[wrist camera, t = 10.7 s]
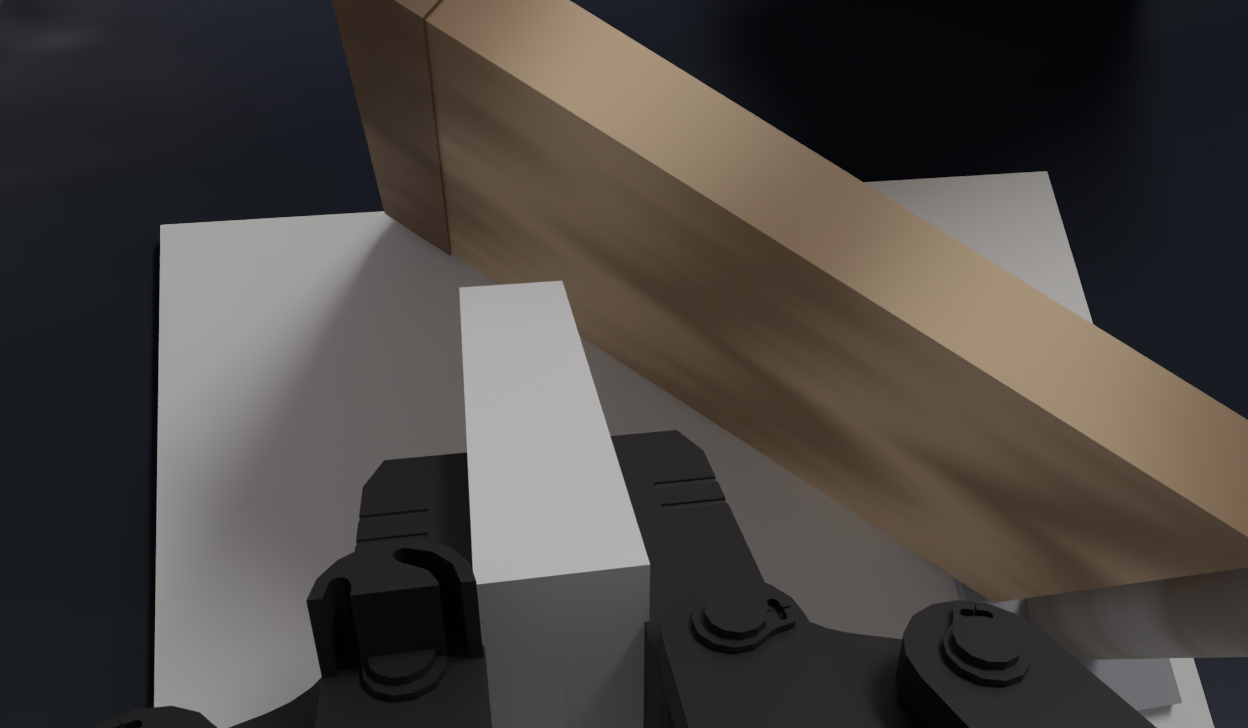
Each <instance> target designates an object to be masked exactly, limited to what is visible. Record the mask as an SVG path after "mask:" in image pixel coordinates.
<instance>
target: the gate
mask: <svg viewBox="0 0 1248 728" xmlns="http://www.w3.org/2000/svg"><path fill="white" fill-rule="evenodd" d="M332 2H333V6H334V10H335V14H336V18H337V22H338V26H339V30H340V34H341V39H342V43H343V47H344V51H345V55H346V59H347V63H348V67H349V71H350V75H351V79H352V83H353V87H354V91H355V95H356V99H357V103H358V107H359V111H360V115H361V119H362V123H363V127H364V131H365V135H366V139H367V143H368V147H369V151H370V155H371V160H372V164H373V168H374V172H375V176H376V180H377V184H378V188H379V192H380V196H381V200H382V204H383V208H384V212H385V214H386V215H388V216H389V217H391V218H392V219H394V220H395V221H397V222H399V223H400V224H402V225H403V226H405V227H406V228H408V229H409V230H411V231H412V232H414V233H416V234H417V235H419V236H420V237H422V238H423V239H425V240H426V241H428V242H429V243H431V244H433V245H434V246H436V247H437V248H439V249H440V250H442V251H443V252H445V253H446V254H448V255H451V254H452V253H453V254H455V255H456V256H458V257H459V258H461V259H462V260H464V261H465V262H467V263H468V264H470V265H472V266H473V267H475V268H476V269H478V270H479V271H481V272H482V273H484V274H485V275H487V276H489V277H490V278H492V279H493V280H495V281H496V282H498V283H499V284H501V285H505V284H520V283H535V282H550V281H562V282H563V285H564V288H565V291H566V294H567V298H568V301H569V304H570V307H571V311H572V314H573V317H574V320H575V324H576V327H577V330H578V333H579V335H580V336H581V337H583V338H584V339H586V340H588V341H589V342H591V343H592V344H594V345H595V346H597V347H598V348H600V349H601V350H603V351H605V352H606V353H608V354H609V355H611V356H612V357H614V358H615V359H617V360H618V361H620V362H622V363H623V364H625V365H626V366H628V367H629V368H631V369H632V370H634V371H635V372H637V373H639V374H640V375H642V376H643V377H645V378H646V379H648V380H649V381H651V382H652V383H654V384H656V385H657V386H659V387H660V388H662V389H663V390H665V391H666V392H668V393H669V394H671V395H673V396H674V397H676V398H677V399H679V400H680V401H682V402H683V403H685V404H686V405H688V406H690V407H691V408H693V409H694V410H696V411H697V412H699V413H700V414H702V415H704V416H705V417H707V418H708V419H710V420H711V421H713V422H714V423H716V424H717V425H719V426H721V427H722V428H724V429H725V430H727V431H728V432H730V433H731V434H733V435H734V436H736V437H738V438H739V439H741V440H742V441H744V442H745V443H747V444H748V445H750V446H751V447H753V448H755V449H756V450H758V451H759V452H761V453H762V454H764V455H765V456H767V457H768V458H770V459H772V460H773V461H775V462H776V463H778V464H779V465H781V466H782V467H784V468H785V469H787V470H789V471H790V472H792V473H793V474H795V475H796V476H798V477H799V478H801V479H802V480H804V481H806V482H807V483H809V484H810V485H812V486H813V487H815V488H816V489H818V490H820V491H821V492H823V493H824V494H826V495H827V496H829V497H830V498H832V499H833V500H835V501H837V502H838V503H840V504H841V505H843V506H844V507H846V508H847V509H849V510H850V511H852V512H854V513H855V514H857V515H858V516H860V517H861V518H863V519H864V520H866V521H867V522H869V523H871V524H872V525H874V526H875V527H877V528H878V529H880V530H881V531H883V532H884V533H886V534H888V535H889V536H891V537H892V538H894V539H895V540H897V541H898V542H900V543H901V544H903V545H905V546H906V547H908V548H909V549H911V550H912V551H914V552H915V553H917V554H918V555H920V556H922V557H923V558H925V559H926V560H928V561H929V562H931V563H932V564H934V565H935V566H937V567H939V568H940V569H942V570H943V571H945V572H946V573H948V574H949V575H951V576H953V577H954V578H956V579H957V580H959V581H960V582H962V583H963V584H965V585H966V586H968V587H970V588H971V589H973V590H974V591H976V592H977V593H979V594H980V595H982V596H983V597H985V598H987V599H988V600H990V601H991V602H993V603H996V602H1003V601H1010V600H1017V599H1024V598H1028V613H1029V618H1030V622H1031V624H1033V625H1035V626H1036V627H1038V628H1039V629H1041V630H1042V631H1044V632H1045V633H1046V634H1047V635H1048V636H1050V637H1051V638H1052V639H1053V640H1054V641H1055V642H1057V643H1058V644H1059V645H1060V646H1061V647H1062V648H1064V649H1065V650H1066V651H1067V652H1068V653H1070V654H1071V655H1072V656H1073V657H1074V658H1075V659H1077V660H1109V659H1161V658H1213V657H1248V420H1247V419H1245V418H1243V417H1242V416H1240V415H1239V414H1237V413H1235V412H1234V411H1232V410H1230V409H1229V408H1227V407H1226V406H1224V405H1222V404H1221V403H1219V402H1218V401H1216V400H1214V399H1213V398H1211V397H1209V396H1208V395H1206V394H1205V393H1203V392H1201V391H1200V390H1198V389H1197V388H1195V387H1193V386H1192V385H1190V384H1188V383H1187V382H1185V381H1184V380H1182V379H1180V378H1179V377H1177V376H1176V375H1174V374H1172V373H1171V372H1169V371H1167V370H1166V369H1164V368H1163V367H1161V366H1159V365H1158V364H1156V363H1155V362H1153V361H1151V360H1150V359H1148V358H1146V357H1145V356H1143V355H1142V354H1140V353H1138V352H1137V351H1135V350H1134V349H1132V348H1130V347H1129V346H1127V345H1125V344H1124V343H1122V342H1121V341H1119V340H1117V339H1116V338H1114V337H1113V336H1111V335H1109V334H1108V333H1106V332H1104V331H1103V330H1101V329H1100V328H1098V327H1096V326H1095V325H1093V324H1092V323H1090V322H1088V321H1087V320H1085V319H1083V318H1082V317H1080V316H1079V315H1077V314H1075V313H1074V312H1072V311H1071V310H1069V309H1067V308H1066V307H1064V306H1062V305H1061V304H1059V303H1058V302H1056V301H1054V300H1053V299H1051V298H1049V297H1048V296H1046V295H1045V294H1043V293H1041V292H1040V291H1038V290H1037V289H1035V288H1033V287H1032V286H1030V285H1028V284H1027V283H1025V282H1024V281H1022V280H1020V279H1019V278H1017V277H1016V276H1014V275H1012V274H1011V273H1009V272H1007V271H1006V270H1004V269H1003V268H1001V267H999V266H998V265H996V264H995V263H993V262H991V261H990V260H988V259H986V258H985V257H983V256H982V255H980V254H978V253H977V252H975V251H974V250H972V249H970V248H969V247H967V246H965V245H964V244H962V243H961V242H959V241H957V240H956V239H954V238H953V237H951V236H949V235H948V234H946V233H944V232H943V231H941V230H940V229H938V228H936V227H935V226H933V225H932V224H930V223H928V222H927V221H925V220H923V219H922V218H920V217H919V216H917V215H915V214H914V213H912V212H911V211H909V210H907V209H906V208H904V207H902V206H901V205H899V204H898V203H896V202H894V201H893V200H891V199H890V198H888V197H886V196H885V195H883V194H881V193H880V192H878V191H877V190H875V189H873V188H872V187H870V186H869V185H867V184H865V183H864V182H862V181H860V180H859V179H857V178H856V177H854V176H852V175H851V174H849V173H848V172H846V171H844V170H843V169H841V168H839V167H838V166H836V165H835V164H833V163H831V162H830V161H828V160H827V159H825V158H823V157H822V156H820V155H818V154H817V153H815V152H814V151H812V150H810V149H809V148H807V147H806V146H804V145H802V144H801V143H799V142H797V141H796V140H794V139H793V138H791V137H789V136H788V135H786V134H785V133H783V132H781V131H780V130H778V129H776V128H775V127H773V126H772V125H770V124H768V123H767V122H765V121H764V120H762V119H760V118H759V117H757V116H755V115H754V114H752V113H751V112H749V111H747V110H746V109H744V108H743V107H741V106H739V105H738V104H736V103H734V102H733V101H731V100H730V99H728V98H726V97H725V96H723V95H722V94H720V93H718V92H717V91H715V90H713V89H712V88H710V87H709V86H707V85H705V84H704V83H702V82H701V81H699V80H697V79H696V78H694V77H692V76H691V75H689V74H688V73H686V72H684V71H683V70H681V69H680V68H678V67H676V66H675V65H673V64H671V63H670V62H668V61H667V60H665V59H663V58H662V57H660V56H659V55H657V54H655V53H654V52H652V51H650V50H649V49H647V48H646V47H644V46H642V45H641V44H639V43H638V42H636V41H634V40H633V39H631V38H629V37H628V36H626V35H625V34H623V33H621V32H620V31H618V30H617V29H615V28H613V27H612V26H610V25H608V24H607V23H605V22H604V21H602V20H600V19H599V18H597V17H596V16H594V15H592V14H591V13H589V12H587V11H586V10H584V9H583V8H581V7H579V6H578V5H576V4H575V3H573V2H571V1H570V0H332Z"/></svg>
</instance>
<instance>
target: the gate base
mask: <svg viewBox="0 0 1248 728" xmlns="http://www.w3.org/2000/svg"><path fill="white" fill-rule="evenodd" d="M864 183H865V184H867V185H869V186H870V187H872V188H873V189H875V190H877V191H878V192H880V193H881V194H883V195H885V196H886V197H888V198H890V199H891V200H893V201H894V202H896V203H898V204H899V205H901V206H902V207H904V208H906V209H907V210H909V211H911V212H912V213H914V214H915V215H917V216H919V217H920V218H922V219H923V220H925V221H927V222H928V223H930V224H932V225H933V226H935V227H936V228H938V229H940V230H941V231H943V232H944V233H946V234H948V235H949V236H951V237H953V238H954V239H956V240H957V241H959V242H961V243H962V244H964V245H965V246H967V247H969V248H970V249H972V250H974V251H975V252H977V253H978V254H980V255H982V256H983V257H985V258H986V259H988V260H990V261H991V262H993V263H995V264H996V265H998V266H999V267H1001V268H1003V269H1004V270H1006V271H1007V272H1009V273H1011V274H1012V275H1014V276H1016V277H1017V278H1019V279H1020V280H1022V281H1024V282H1025V283H1027V284H1028V285H1030V286H1032V287H1033V288H1035V289H1037V290H1038V291H1040V292H1041V293H1043V294H1045V295H1046V296H1048V297H1049V298H1051V299H1053V300H1054V301H1056V302H1058V303H1059V304H1061V305H1062V306H1064V307H1066V308H1067V309H1069V310H1071V311H1072V312H1074V313H1075V314H1077V315H1079V316H1080V317H1082V318H1083V319H1085V320H1087V321H1088V322H1090V323H1092V319H1091V316H1090V313H1089V309H1088V306H1087V303H1086V299H1085V296H1084V293H1083V289H1082V286H1081V283H1080V279H1079V276H1078V273H1077V269H1076V266H1075V263H1074V259H1073V256H1072V253H1071V249H1070V246H1069V243H1068V239H1067V236H1066V233H1065V229H1064V226H1063V223H1062V219H1061V216H1060V213H1059V209H1058V206H1057V203H1056V199H1055V196H1054V193H1053V189H1052V186H1051V183H1050V179H1049V176H1048V173H1047V171H1043V172H1026V173H1010V174H993V175H977V176H960V177H944V178H927V179H911V180H894V181H878V182H864ZM490 285H501V284H499V283H498V282H496V281H495V280H493V279H492V278H490V277H489V276H487V275H485V274H484V273H482V272H481V271H479V270H478V269H476V268H475V267H473V266H472V265H470V264H468V263H467V262H465V261H464V260H462V259H461V258H459V257H458V256H456V255H455V254H453V253H452V254H451V255H448V254H446V253H445V252H443V251H442V250H440V249H439V248H437V247H436V246H434V245H433V244H431V243H429V242H428V241H426V240H425V239H423V238H422V237H420V236H419V235H417V234H416V233H414V232H412V231H411V230H409V229H408V228H406V227H405V226H403V225H402V224H400V223H399V222H397V221H395V220H394V219H392V218H391V217H389V216H388V215H386V214H385V212H384V211H383V212H367V213H350V214H334V215H317V216H301V217H284V218H268V219H251V220H235V221H218V222H202V223H185V224H169V225H160V299H159V373H158V447H157V521H156V595H155V669H154V707H163V706H175V707H180V708H184V709H188V710H192V711H197V712H200V713H201V714H202V715H203V716H205V717H206V718H207V719H208V720H209V721H210V722H211V723H213V724H214V725H215V726H216V727H217V728H229V727H232V726H234V725H237V724H240V723H242V722H245V721H248V720H250V719H253V718H255V717H258V716H261V715H263V714H266V713H268V712H270V711H272V710H274V709H276V708H279V707H281V706H283V705H285V704H287V703H289V702H291V701H292V700H294V699H295V698H297V697H298V696H300V695H301V694H303V693H304V692H305V691H307V690H308V689H310V688H311V687H312V686H313V685H314V684H315V683H316V682H317V681H318V680H319V679H320V678H321V677H322V676H321V671H320V666H319V662H318V657H317V652H316V647H315V642H314V637H313V632H312V627H311V622H310V617H309V612H308V607H307V602H306V600H307V598H308V596H309V594H310V591H311V589H312V587H313V585H314V583H315V581H316V579H317V578H318V577H319V576H320V575H321V574H322V573H324V572H325V571H326V570H327V569H328V568H329V567H330V566H331V565H332V564H333V563H335V562H336V561H337V560H339V559H341V558H343V557H345V556H347V555H349V554H351V553H353V552H354V551H355V546H356V536H357V528H358V522H359V512H360V505H361V497H362V489H363V486H364V485H365V483H366V482H367V481H368V480H369V478H370V477H371V476H372V475H373V473H374V472H375V471H376V470H377V468H378V467H379V466H380V465H381V463H382V462H383V461H384V460H391V459H402V458H413V457H423V456H434V455H445V454H455V453H466V452H467V438H466V417H465V396H464V375H463V354H462V333H461V312H460V291H459V288H460V287H475V286H490ZM1092 324H1093V323H1092ZM579 336H580V335H579ZM580 340H581V343H582V346H583V349H584V353H585V356H586V359H587V362H588V366H589V369H590V372H591V375H592V378H593V382H594V385H595V388H596V391H597V395H598V398H599V401H600V404H601V407H602V411H603V414H604V417H605V420H606V424H607V427H608V430H609V433H610V436H616V435H627V434H638V433H648V432H659V431H670V430H678V431H679V432H680V433H681V434H683V435H684V436H685V437H687V438H688V439H689V440H690V441H692V442H693V443H694V444H696V445H697V446H698V447H700V448H701V449H702V450H703V451H704V453H705V455H706V457H707V459H708V461H709V463H710V466H711V468H712V470H713V472H714V474H715V476H716V482H717V481H718V483H719V485H720V487H721V489H722V491H723V493H724V496H725V499H726V503H728V504H729V506H730V508H731V511H732V513H733V515H734V517H735V519H736V521H737V523H738V526H739V528H740V530H741V532H742V534H743V536H744V538H745V541H746V543H747V545H748V547H749V549H750V551H751V553H752V556H753V558H754V560H755V562H756V564H757V566H758V568H759V571H760V573H761V575H762V577H763V579H764V581H765V583H768V584H771V585H772V586H774V587H776V588H777V589H779V590H781V591H782V592H784V593H785V594H787V595H789V596H790V597H792V598H793V600H794V601H795V602H796V603H797V604H798V606H799V607H800V608H801V609H802V611H803V612H804V613H805V614H806V616H807V618H808V620H809V621H810V622H812V623H815V624H817V625H820V626H823V627H825V628H828V629H833V630H838V631H843V632H848V633H854V634H863V635H871V636H879V637H888V638H896V639H902V638H903V633H904V631H905V629H906V627H907V625H908V623H909V621H910V620H911V618H912V616H913V615H914V614H916V613H918V612H919V611H921V610H923V609H924V608H926V607H928V606H929V605H931V604H936V603H942V602H948V601H955V600H961V601H970V602H979V603H987V604H990V605H993V606H996V607H999V608H1001V609H1004V610H1007V611H1010V612H1012V613H1015V614H1018V615H1019V616H1021V617H1022V618H1024V619H1025V620H1027V621H1028V622H1030V618H1029V613H1028V598H1024V599H1017V600H1010V601H1003V602H996V603H993V602H991V601H990V600H988V599H987V598H985V597H983V596H982V595H980V594H979V593H977V592H976V591H974V590H973V589H971V588H970V587H968V586H966V585H965V584H963V583H962V582H960V581H959V580H957V579H956V578H954V577H953V576H951V575H949V574H948V573H946V572H945V571H943V570H942V569H940V568H939V567H937V566H935V565H934V564H932V563H931V562H929V561H928V560H926V559H925V558H923V557H922V556H920V555H918V554H917V553H915V552H914V551H912V550H911V549H909V548H908V547H906V546H905V545H903V544H901V543H900V542H898V541H897V540H895V539H894V538H892V537H891V536H889V535H888V534H886V533H884V532H883V531H881V530H880V529H878V528H877V527H875V526H874V525H872V524H871V523H869V522H867V521H866V520H864V519H863V518H861V517H860V516H858V515H857V514H855V513H854V512H852V511H850V510H849V509H847V508H846V507H844V506H843V505H841V504H840V503H838V502H837V501H835V500H833V499H832V498H830V497H829V496H827V495H826V494H824V493H823V492H821V491H820V490H818V489H816V488H815V487H813V486H812V485H810V484H809V483H807V482H806V481H804V480H802V479H801V478H799V477H798V476H796V475H795V474H793V473H792V472H790V471H789V470H787V469H785V468H784V467H782V466H781V465H779V464H778V463H776V462H775V461H773V460H772V459H770V458H768V457H767V456H765V455H764V454H762V453H761V452H759V451H758V450H756V449H755V448H753V447H751V446H750V445H748V444H747V443H745V442H744V441H742V440H741V439H739V438H738V437H736V436H734V435H733V434H731V433H730V432H728V431H727V430H725V429H724V428H722V427H721V426H719V425H717V424H716V423H714V422H713V421H711V420H710V419H708V418H707V417H705V416H704V415H702V414H700V413H699V412H697V411H696V410H694V409H693V408H691V407H690V406H688V405H686V404H685V403H683V402H682V401H680V400H679V399H677V398H676V397H674V396H673V395H671V394H669V393H668V392H666V391H665V390H663V389H662V388H660V387H659V386H657V385H656V384H654V383H652V382H651V381H649V380H648V379H646V378H645V377H643V376H642V375H640V374H639V373H637V372H635V371H634V370H632V369H631V368H629V367H628V366H626V365H625V364H623V363H622V362H620V361H618V360H617V359H615V358H614V357H612V356H611V355H609V354H608V353H606V352H605V351H603V350H601V349H600V348H598V347H597V346H595V345H594V344H592V343H591V342H589V341H588V340H586V339H584V338H583V337H581V336H580ZM1030 623H1031V622H1030ZM1078 661H1079V662H1080V663H1081V664H1082V665H1084V666H1085V667H1086V668H1087V669H1088V670H1090V671H1091V672H1092V673H1093V674H1094V675H1095V676H1097V677H1098V678H1099V679H1100V680H1101V681H1102V682H1104V683H1105V684H1106V685H1107V686H1108V687H1110V688H1111V689H1112V690H1113V691H1114V692H1115V693H1117V694H1118V695H1119V696H1120V697H1121V698H1122V699H1124V700H1125V701H1126V702H1127V703H1128V704H1130V705H1131V706H1132V707H1133V708H1134V709H1135V710H1137V711H1138V712H1139V713H1140V714H1141V715H1143V716H1144V717H1145V718H1146V719H1147V720H1148V721H1150V722H1151V723H1152V724H1153V725H1154V726H1155V727H1157V728H1214V725H1213V722H1212V719H1211V715H1210V712H1209V709H1208V705H1207V702H1206V699H1205V695H1204V692H1203V689H1202V685H1201V682H1200V679H1199V676H1198V672H1197V669H1196V666H1195V662H1194V659H1193V658H1161V659H1109V660H1078Z"/></svg>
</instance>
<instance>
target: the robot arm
mask: <svg viewBox="0 0 1248 728" xmlns="http://www.w3.org/2000/svg"><path fill="white" fill-rule="evenodd" d="M459 291H460V312H461V333H462V354H463V375H464V396H465V417H466V438H467V452H466V453H455V454H445V455H434V456H423V457H413V458H402V459H391V460H384V461H383V462H382V463H381V465H380V466H379V467H378V468H377V470H376V471H375V472H374V473H373V475H372V476H371V477H370V478H369V480H368V481H367V482H366V483H365V485H364V486H363V489H362V497H361V505H360V512H359V522H358V528H357V536H356V546H355V551H354V552H353V553H351V554H349V555H347V556H345V557H343V558H341V559H339V560H337V561H336V562H335V563H333V564H332V565H331V566H330V567H329V568H328V569H327V570H326V571H325V572H324V573H322V574H321V575H320V576H319V577H318V578H317V579H316V581H315V583H314V585H313V587H312V589H311V591H310V594H309V596H308V598H307V600H306V602H307V607H308V612H309V617H310V622H311V627H312V632H313V637H314V642H315V647H316V652H317V657H318V662H319V666H320V671H321V676H322V677H321V678H320V679H319V680H318V681H317V682H316V683H315V684H314V685H313V686H312V687H311V688H310V689H308V690H307V691H305V692H304V693H303V694H301V695H300V696H298V697H297V698H295V699H294V700H292V701H291V702H289V703H287V704H285V705H283V706H281V707H279V708H276V709H274V710H272V711H270V712H268V713H266V714H263V715H261V716H258V717H255V718H253V719H250V720H248V721H245V722H242V723H240V724H237V725H234V726H232V727H229V728H1157V727H1155V726H1154V725H1153V724H1152V723H1151V722H1150V721H1148V720H1147V719H1146V718H1145V717H1144V716H1143V715H1141V714H1140V713H1139V712H1138V711H1137V710H1135V709H1134V708H1133V707H1132V706H1131V705H1130V704H1128V703H1127V702H1126V701H1125V700H1124V699H1122V698H1121V697H1120V696H1119V695H1118V694H1117V693H1115V692H1114V691H1113V690H1112V689H1111V688H1110V687H1108V686H1107V685H1106V684H1105V683H1104V682H1102V681H1101V680H1100V679H1099V678H1098V677H1097V676H1095V675H1094V674H1093V673H1092V672H1091V671H1090V670H1088V669H1087V668H1086V667H1085V666H1084V665H1082V664H1081V663H1080V662H1079V661H1078V660H1077V659H1075V658H1074V657H1073V656H1072V655H1071V654H1070V653H1068V652H1067V651H1066V650H1065V649H1064V648H1062V647H1061V646H1060V645H1059V644H1058V643H1057V642H1055V641H1054V640H1053V639H1052V638H1051V637H1050V636H1048V635H1047V634H1046V633H1045V632H1044V631H1042V630H1041V629H1039V628H1038V627H1036V626H1035V625H1033V624H1031V623H1030V622H1028V621H1027V620H1025V619H1024V618H1022V617H1021V616H1019V615H1018V614H1015V613H1012V612H1010V611H1007V610H1004V609H1001V608H999V607H996V606H993V605H990V604H987V603H979V602H970V601H961V600H955V601H948V602H942V603H936V604H931V605H929V606H928V607H926V608H924V609H923V610H921V611H919V612H918V613H916V614H914V615H913V616H912V618H911V620H910V621H909V623H908V625H907V627H906V629H905V631H904V633H903V638H902V639H896V638H888V637H879V636H871V635H863V634H854V633H848V632H843V631H838V630H833V629H828V628H825V627H823V626H820V625H817V624H815V623H812V622H810V621H809V620H808V618H807V616H806V614H805V613H804V612H803V611H802V609H801V608H800V607H799V606H798V604H797V603H796V602H795V601H794V600H793V598H792V597H790V596H789V595H787V594H785V593H784V592H782V591H781V590H779V589H777V588H776V587H774V586H772V585H771V584H768V583H765V581H764V579H763V577H762V575H761V573H760V571H759V568H758V566H757V564H756V562H755V560H754V558H753V556H752V553H751V551H750V549H749V547H748V545H747V543H746V541H745V538H744V536H743V534H742V532H741V530H740V528H739V526H738V523H737V521H736V519H735V517H734V515H733V513H732V511H731V508H730V506H729V504H728V503H726V499H725V496H724V493H723V491H722V489H721V487H720V485H719V483H718V481H717V482H716V476H715V474H714V472H713V470H712V468H711V466H710V463H709V461H708V459H707V457H706V455H705V453H704V451H703V450H702V449H701V448H700V447H698V446H697V445H696V444H694V443H693V442H692V441H690V440H689V439H688V438H687V437H685V436H684V435H683V434H681V433H680V432H679V431H678V430H670V431H659V432H648V433H638V434H627V435H616V436H610V433H609V430H608V427H607V424H606V420H605V417H604V414H603V411H602V407H601V404H600V401H599V398H598V395H597V391H596V388H595V385H594V382H593V378H592V375H591V372H590V369H589V366H588V362H587V359H586V356H585V353H584V349H583V346H582V343H581V340H580V336H579V333H578V330H577V327H576V324H575V320H574V317H573V314H572V311H571V307H570V304H569V301H568V298H567V294H566V291H565V288H564V285H563V282H562V281H550V282H535V283H520V284H505V285H490V286H475V287H460V288H459ZM93 728H217V727H216V726H215V725H214V724H213V723H211V722H210V721H209V720H208V719H207V718H206V717H205V716H203V715H202V714H201V713H200V712H197V711H192V710H188V709H184V708H180V707H175V706H163V707H153V708H143V709H136V710H134V711H131V712H128V713H125V714H123V715H120V716H117V717H114V718H111V719H109V720H106V721H103V722H101V723H99V724H98V725H96V726H95V727H93Z"/></svg>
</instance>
